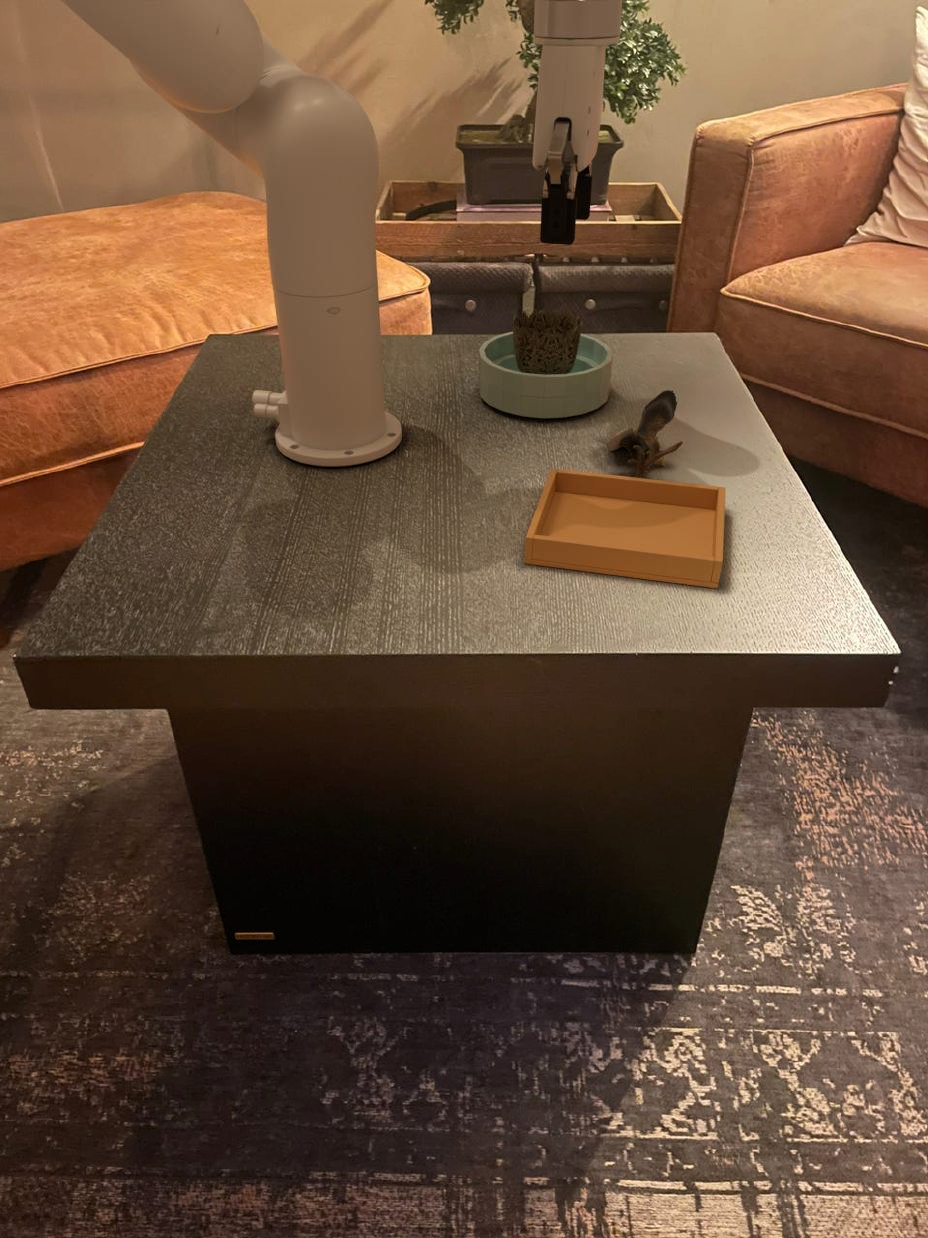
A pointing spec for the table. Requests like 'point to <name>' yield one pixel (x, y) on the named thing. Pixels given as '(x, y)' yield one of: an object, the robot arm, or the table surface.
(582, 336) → the bowl
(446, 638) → the table surface
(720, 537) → the tray
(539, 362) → the cup
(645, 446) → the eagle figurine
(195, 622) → the table surface
